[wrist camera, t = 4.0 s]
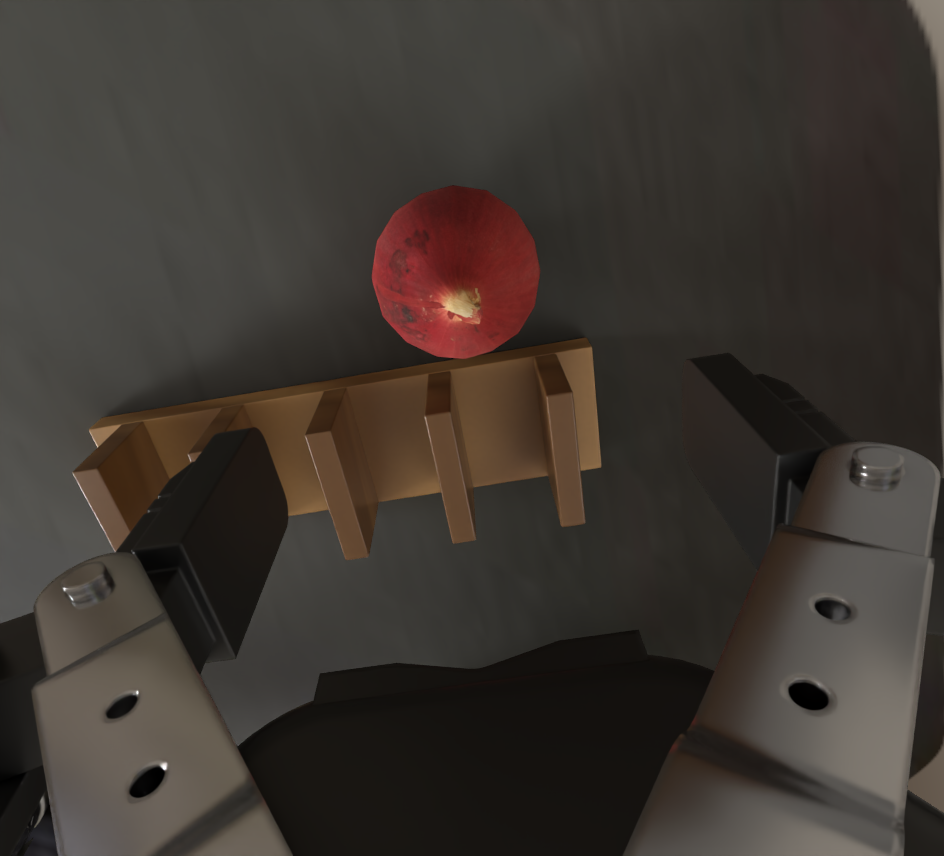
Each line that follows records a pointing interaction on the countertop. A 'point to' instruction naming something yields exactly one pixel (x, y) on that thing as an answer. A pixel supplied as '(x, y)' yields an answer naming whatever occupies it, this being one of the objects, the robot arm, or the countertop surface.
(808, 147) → the countertop surface
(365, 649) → the countertop surface
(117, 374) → the countertop surface
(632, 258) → the countertop surface
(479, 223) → the red round piece
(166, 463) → the dish rack
